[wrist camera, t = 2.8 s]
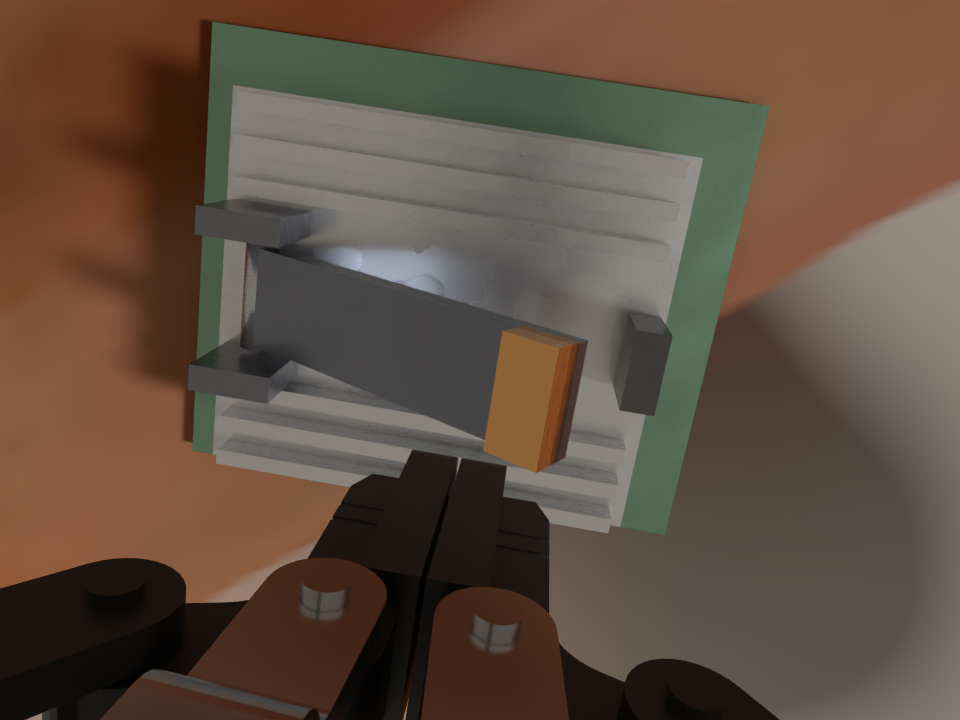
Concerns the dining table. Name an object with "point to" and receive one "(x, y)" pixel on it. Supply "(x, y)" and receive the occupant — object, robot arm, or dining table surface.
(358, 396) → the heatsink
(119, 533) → the dining table surface
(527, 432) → the lever
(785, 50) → the dining table surface
